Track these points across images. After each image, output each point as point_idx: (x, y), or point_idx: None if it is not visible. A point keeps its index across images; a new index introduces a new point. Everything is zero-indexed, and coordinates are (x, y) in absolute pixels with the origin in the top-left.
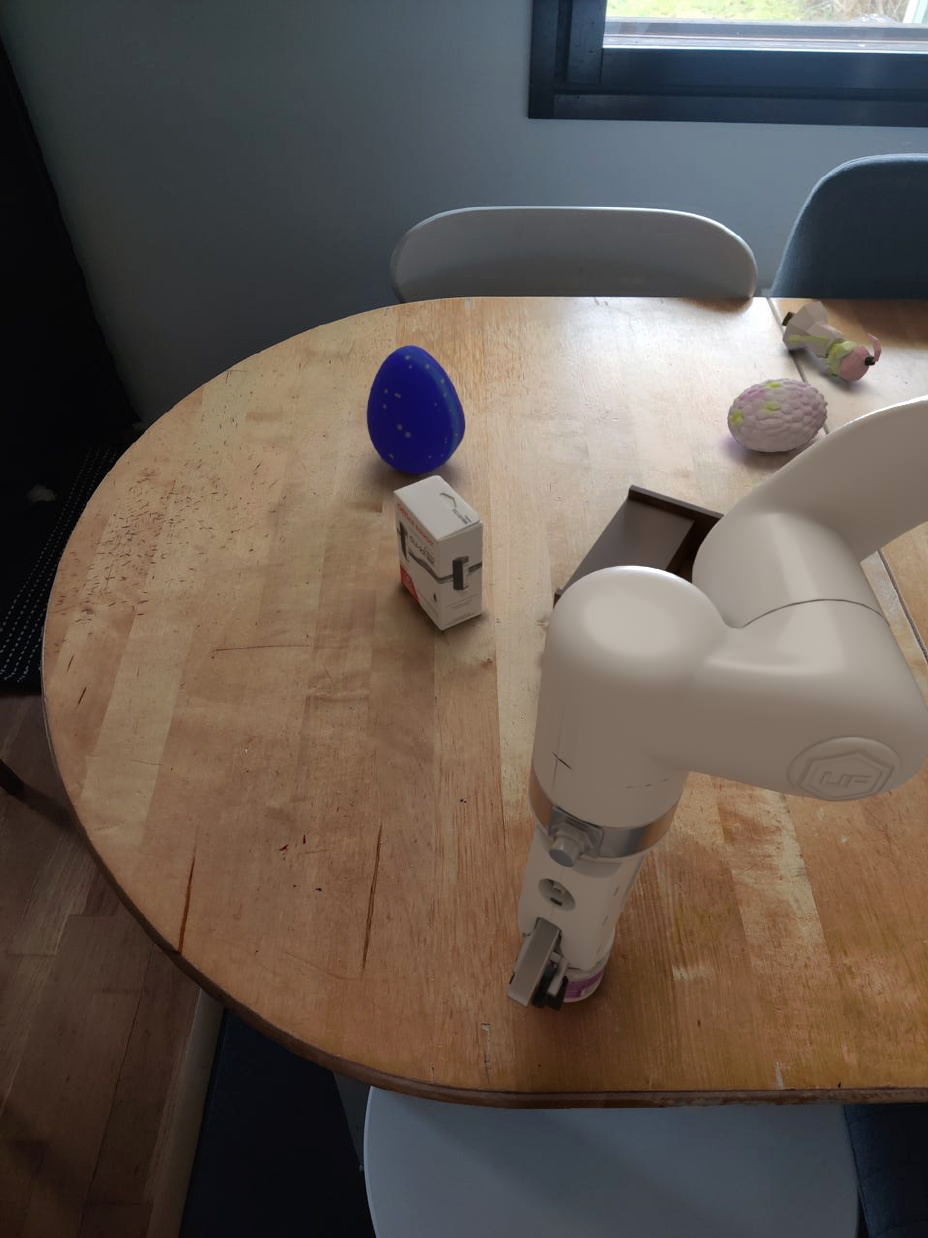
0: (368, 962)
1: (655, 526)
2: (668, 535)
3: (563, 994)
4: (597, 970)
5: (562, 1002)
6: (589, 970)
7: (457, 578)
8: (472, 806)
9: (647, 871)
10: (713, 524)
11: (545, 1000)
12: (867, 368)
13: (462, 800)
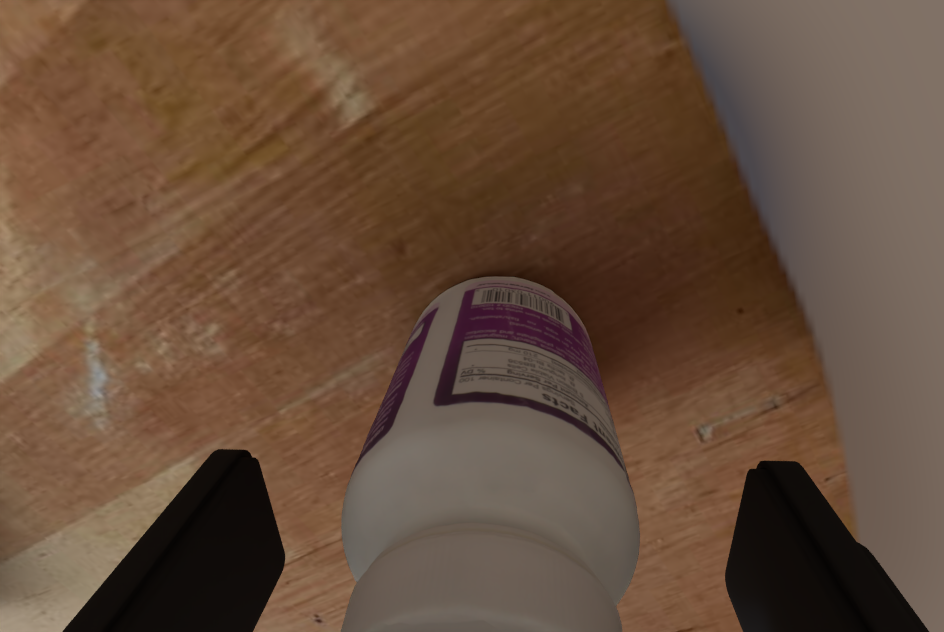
0: (680, 626)
1: None
2: None
3: (902, 610)
4: (547, 365)
5: (802, 494)
6: (582, 407)
7: None
8: (315, 604)
9: (175, 282)
10: None
11: (924, 628)
12: None
13: (317, 620)
